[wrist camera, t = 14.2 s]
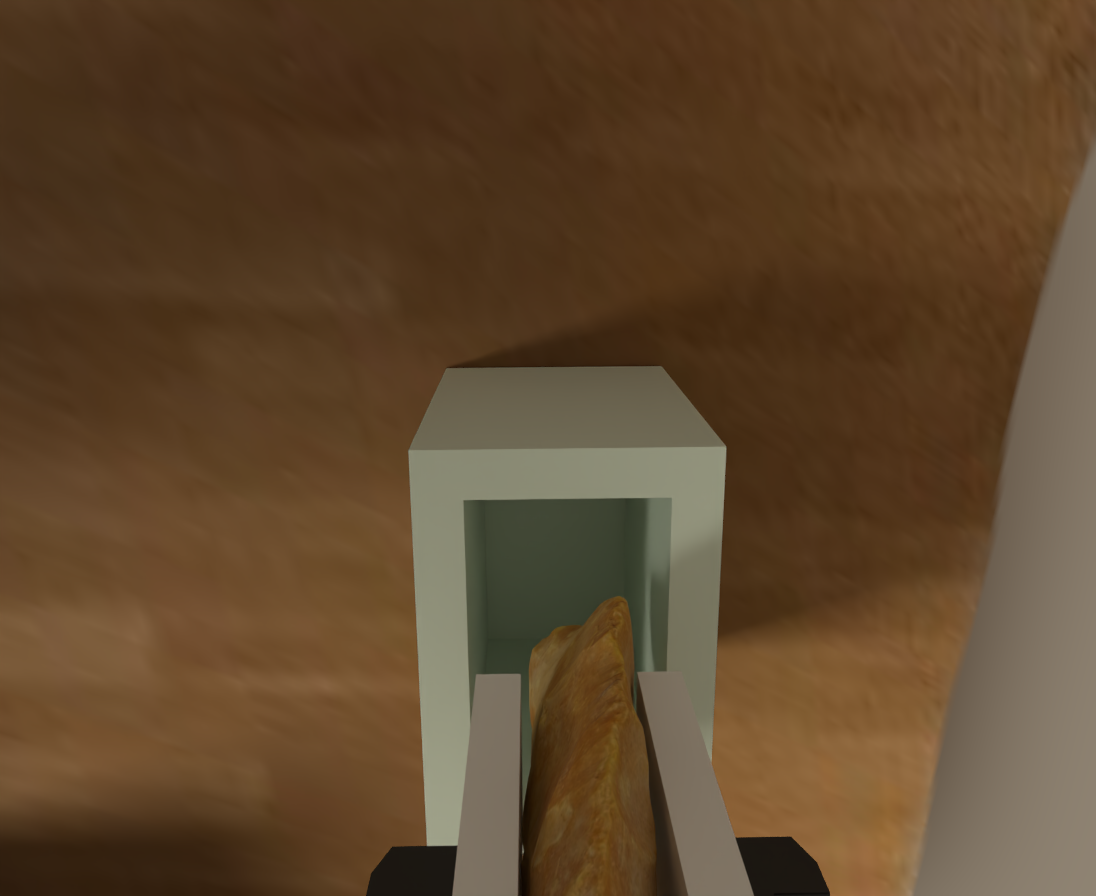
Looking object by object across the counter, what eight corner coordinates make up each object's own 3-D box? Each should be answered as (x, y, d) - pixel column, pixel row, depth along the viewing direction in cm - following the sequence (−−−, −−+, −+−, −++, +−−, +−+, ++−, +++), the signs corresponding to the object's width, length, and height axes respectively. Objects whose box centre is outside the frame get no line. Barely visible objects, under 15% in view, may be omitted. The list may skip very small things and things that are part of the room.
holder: (456, 660, 28) (427, 856, 20) (446, 368, 26) (408, 450, 17) (653, 657, 28) (707, 850, 20) (661, 365, 26) (726, 446, 17)
